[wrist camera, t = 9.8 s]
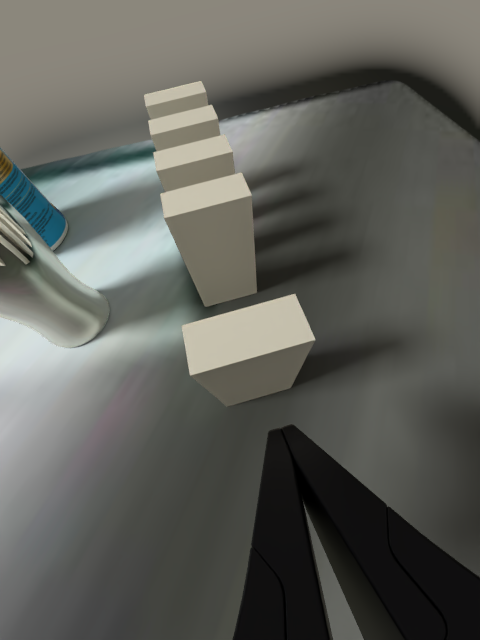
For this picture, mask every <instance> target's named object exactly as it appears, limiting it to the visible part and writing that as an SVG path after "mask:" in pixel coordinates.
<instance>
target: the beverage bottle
mask: <svg viewBox="0 0 480 640" xmlns="http://www.w3.org/2000/svg"><path fill="white" fill-rule="evenodd" d="M0 194H1V195H2V196H3V197H4V198H5V199H6V200H7V201H8V202H9V203H10V204H11V205H12V206H13V207H14V208H16V209H17V210H18V211H19V212H20V213H21V214H22V215H23V217H24V218H25V219H26V220H27V221H28V222H29V223H30V224H31V226H32V227H33V228H34V229H35V230H36V231H37V232H38V234H39V235H40V236H41V237H42V238H43V240H44V241H45V242H46V243H47V245H48V246H49V247H50V248H51V250H52V251H53V250H55V249H56V248H57V247H58V246H59V245H60V244H61V242H62V241H63V240H64V238H65V236H66V234H67V230H68V224H67V221H66V219H65V217H64V216H63V215H62V213H61V212H60V211H59V210H58V209H57V208H56V207H55V206H53V205H52V204H51V203H50V202H49V201H48V200H47V199H46V197H45V196H44V195H43V194H42V193H41V192H40V191H39V190H38V189H37V188H36V187H35V185H34V184H33V183H32V182H31V181H30V180H29V179H28V178H27V177H26V176H25V174H24V173H23V172H22V171H21V170H20V169H19V168H18V167H17V166H16V164H14V162H13V161H12V160H11V159H10V158H9V157H8V156H7V154H6V153H5V152H4V151H3V150H2V149H1V148H0Z"/></svg>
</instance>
